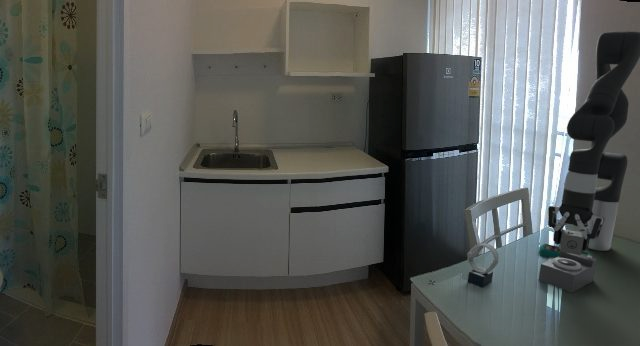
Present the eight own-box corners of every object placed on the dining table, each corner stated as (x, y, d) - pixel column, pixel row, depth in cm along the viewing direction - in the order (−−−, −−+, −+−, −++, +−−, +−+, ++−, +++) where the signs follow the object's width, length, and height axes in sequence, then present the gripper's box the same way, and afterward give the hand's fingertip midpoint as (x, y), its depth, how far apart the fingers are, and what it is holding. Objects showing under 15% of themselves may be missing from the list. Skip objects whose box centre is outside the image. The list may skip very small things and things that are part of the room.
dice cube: (559, 246, 129) (561, 229, 128) (579, 249, 127) (582, 232, 126) (560, 251, 124) (563, 234, 123) (580, 255, 122) (584, 237, 121)
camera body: (561, 269, 136) (565, 247, 135) (593, 280, 130) (597, 257, 128) (538, 280, 128) (542, 256, 126) (571, 292, 121) (575, 267, 120)
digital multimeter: (540, 250, 154) (541, 241, 154) (590, 260, 147) (592, 252, 146) (537, 256, 148) (538, 247, 147) (589, 268, 140) (591, 259, 140)
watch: (470, 274, 129) (475, 238, 127) (497, 284, 124) (503, 246, 122) (460, 279, 125) (465, 242, 123) (488, 290, 120) (494, 250, 118)
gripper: (614, 193, 119) (603, 253, 123) (559, 181, 130) (550, 237, 134) (603, 196, 115) (591, 258, 118) (546, 184, 126) (537, 241, 129)
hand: (569, 247), depth 126 cm, fingers closed on dice cube, 6 cm apart
